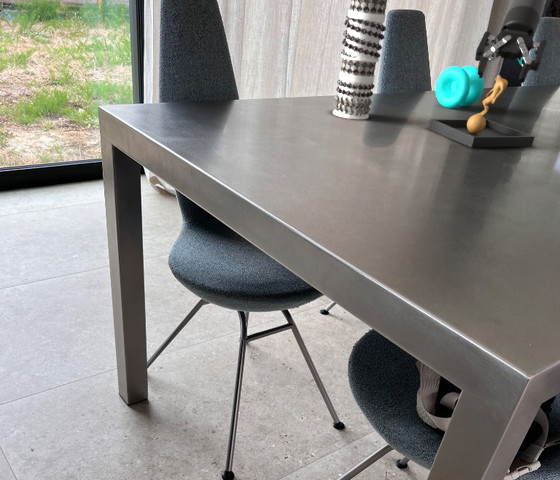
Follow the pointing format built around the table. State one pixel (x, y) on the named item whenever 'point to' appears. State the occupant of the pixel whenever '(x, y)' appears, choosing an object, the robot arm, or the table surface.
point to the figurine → (486, 107)
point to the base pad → (481, 134)
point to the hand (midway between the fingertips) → (499, 78)
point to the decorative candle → (359, 58)
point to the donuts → (459, 86)
